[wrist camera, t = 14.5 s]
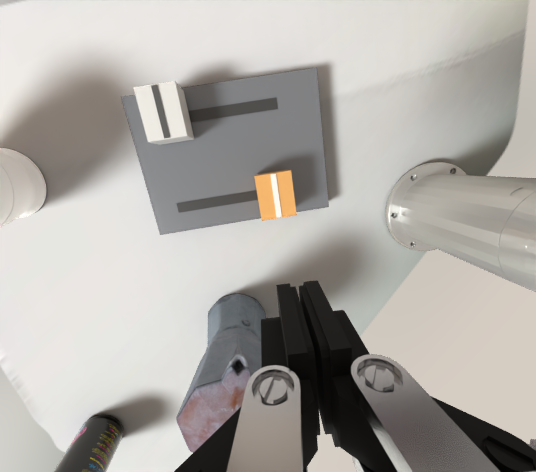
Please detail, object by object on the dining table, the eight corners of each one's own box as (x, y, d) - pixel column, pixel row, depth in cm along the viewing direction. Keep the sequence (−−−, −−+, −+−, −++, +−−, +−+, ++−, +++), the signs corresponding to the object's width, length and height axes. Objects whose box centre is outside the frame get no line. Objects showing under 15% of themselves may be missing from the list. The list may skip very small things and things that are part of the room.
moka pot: (272, 276, 38) (296, 391, 18) (265, 362, 42) (279, 529, 23) (207, 274, 37) (162, 392, 18) (206, 361, 41) (169, 535, 22)
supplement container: (97, 406, 42) (49, 482, 32) (133, 424, 43) (98, 502, 33) (75, 431, 43) (23, 512, 33) (111, 448, 44) (71, 530, 34)
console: (311, 75, 31) (316, 67, 28) (323, 204, 35) (329, 206, 33) (131, 102, 30) (120, 96, 28) (166, 230, 35) (159, 235, 32)
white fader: (183, 91, 28) (174, 80, 24) (194, 139, 29) (187, 135, 26) (147, 96, 28) (132, 87, 24) (159, 144, 29) (147, 141, 26)
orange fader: (286, 169, 31) (291, 170, 27) (291, 209, 32) (296, 215, 29) (253, 175, 31) (254, 176, 27) (260, 215, 32) (262, 221, 29)
